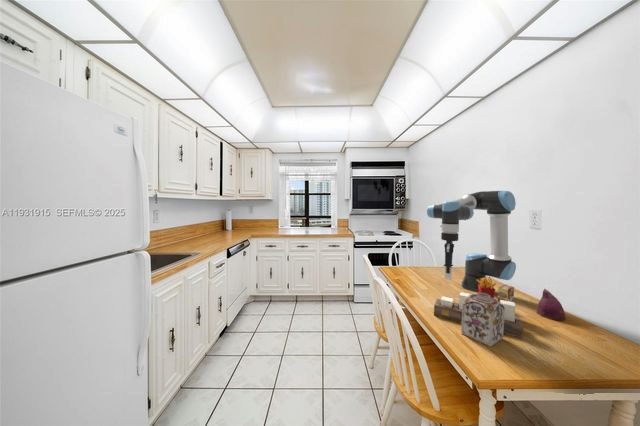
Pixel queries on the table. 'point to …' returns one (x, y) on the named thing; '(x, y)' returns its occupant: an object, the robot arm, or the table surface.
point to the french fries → (486, 287)
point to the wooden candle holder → (456, 315)
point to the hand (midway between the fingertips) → (447, 279)
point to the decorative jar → (483, 318)
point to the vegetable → (550, 307)
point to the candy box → (506, 293)
